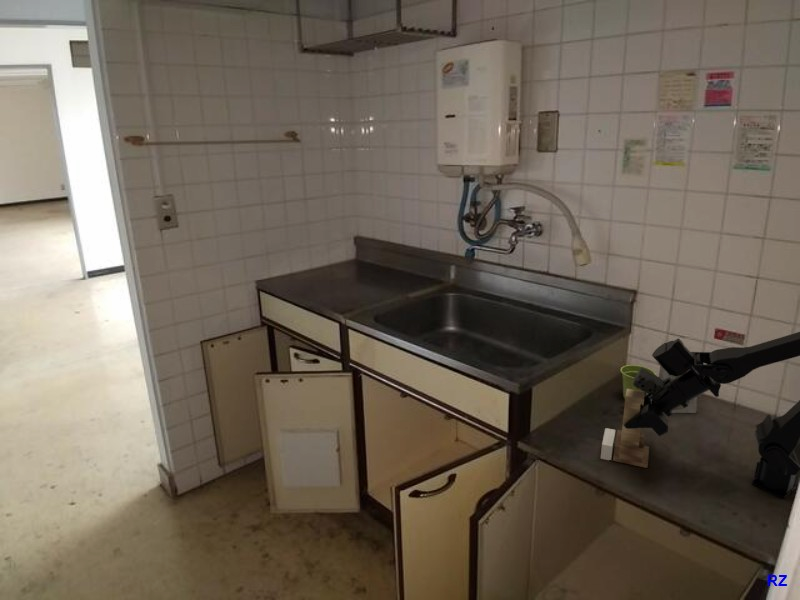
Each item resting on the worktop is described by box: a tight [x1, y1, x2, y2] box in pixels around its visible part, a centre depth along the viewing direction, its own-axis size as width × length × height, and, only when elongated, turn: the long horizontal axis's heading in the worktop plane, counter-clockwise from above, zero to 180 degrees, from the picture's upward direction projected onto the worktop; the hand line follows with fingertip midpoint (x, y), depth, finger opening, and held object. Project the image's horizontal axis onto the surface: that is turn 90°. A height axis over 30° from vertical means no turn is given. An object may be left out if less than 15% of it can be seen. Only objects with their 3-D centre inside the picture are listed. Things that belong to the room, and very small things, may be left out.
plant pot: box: [620, 364, 657, 399], centre depth 161 cm, size 9×9×9 cm
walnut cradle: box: [612, 429, 650, 469], centre depth 134 cm, size 8×8×4 cm
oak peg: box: [621, 389, 645, 448], centre depth 132 cm, size 4×4×15 cm
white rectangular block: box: [600, 427, 616, 461], centre depth 137 cm, size 2×8×4 cm, turn 155°
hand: (625, 422), depth 133 cm, fingers closed on oak peg, 4 cm apart
